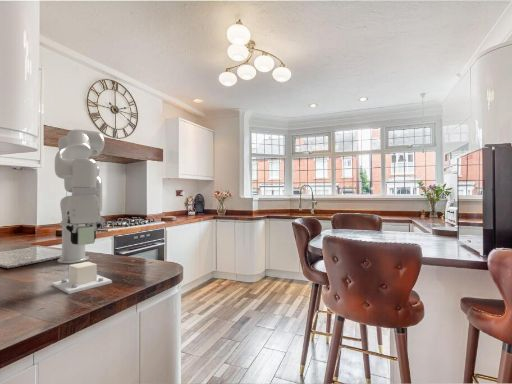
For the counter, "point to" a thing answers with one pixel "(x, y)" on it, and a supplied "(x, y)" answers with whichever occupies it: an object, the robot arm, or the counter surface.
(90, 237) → the sage block
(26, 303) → the counter surface
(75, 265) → the cream block
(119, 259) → the counter surface
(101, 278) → the plate
